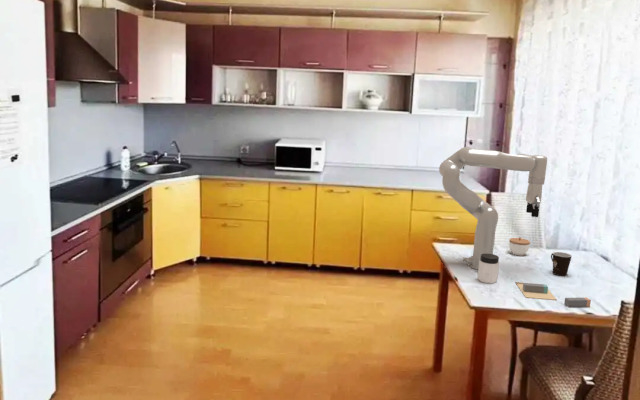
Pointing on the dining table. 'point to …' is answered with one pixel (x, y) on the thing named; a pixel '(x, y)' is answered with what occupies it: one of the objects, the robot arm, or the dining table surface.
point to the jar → (488, 268)
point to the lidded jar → (519, 246)
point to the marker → (535, 288)
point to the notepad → (536, 295)
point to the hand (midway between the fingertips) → (532, 214)
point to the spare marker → (577, 302)
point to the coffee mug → (560, 263)
